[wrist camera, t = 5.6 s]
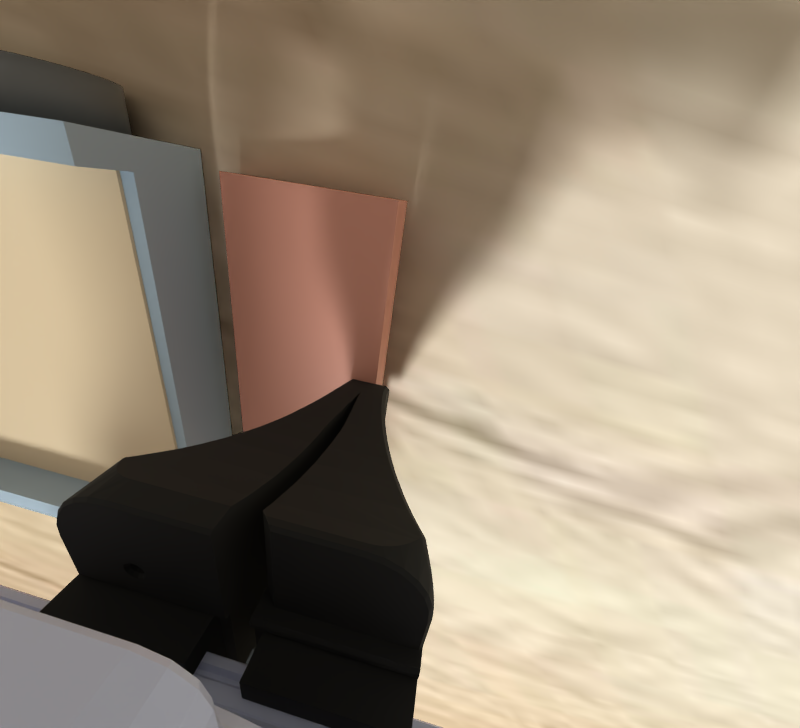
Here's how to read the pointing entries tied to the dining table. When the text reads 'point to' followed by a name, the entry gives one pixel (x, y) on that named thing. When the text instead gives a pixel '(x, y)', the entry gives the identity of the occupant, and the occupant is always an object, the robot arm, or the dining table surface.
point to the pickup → (98, 288)
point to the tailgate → (307, 289)
